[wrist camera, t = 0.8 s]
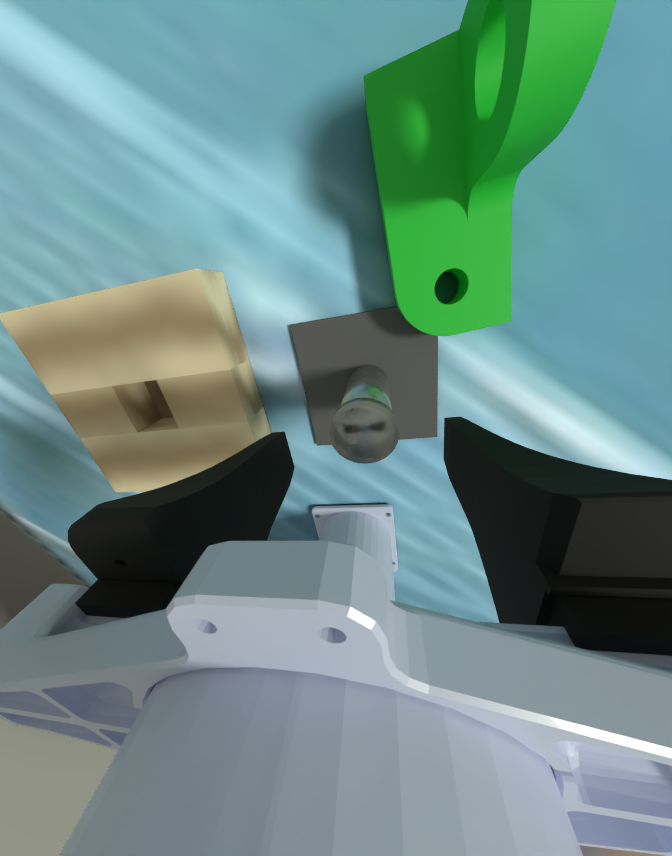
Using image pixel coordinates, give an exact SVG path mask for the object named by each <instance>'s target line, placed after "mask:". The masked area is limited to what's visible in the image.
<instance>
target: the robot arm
mask: <svg viewBox="0 0 672 856" xmlns="http://www.w3.org/2000/svg"><path fill="white" fill-rule="evenodd" d="M444 461H445V465H446V469H447V472H448V476H449V479H450V481H451V483H452V485H453V488H454V490H455V492H456V494H457V497H458V499H459V501H460V503H461V505H462V508H463V510H464V512H465V514H466V517H467V519H468V521H469V524H470V526H471V529H472V531H473V534H474V537H475V540H476V544H477V547H478V550H479V553H480V556H481V559H482V563H483V566H484V569H485V573H486V576H487V579H488V583H489V586H490V590H491V593H492V597H493V600H494V604H495V608H496V611H497V615H498V619H499V622H500V623H488V622H475V621H471V620H467V619H463V618H459V617H455V616H451V615H447V614H443V613H439V612H435V611H431V610H427V609H423V608H419V607H415V606H411V605H407V604H403V603H399V602H395V593H394V576H393V572H397V571H398V561H397V550H396V539H395V528H394V517H393V508H392V506H391V505H389V504H380V505H343V506H315V507H313V508H312V515H313V519H314V522H315V526H316V530H317V534H318V537H319V541H267V539H268V536H269V532H270V530H271V527H272V525H273V522H274V520H275V518H276V515H277V513H278V511H279V509H280V506H281V504H282V502H283V500H284V497H285V495H286V493H287V490H288V488H289V486H290V483H291V479H292V475H293V471H294V464H293V460H292V457H291V453H290V449H289V446H288V442H287V439H286V435H285V432H275V433H271V434H268V435H266V436H265V437H263V438H261V439H259V440H258V441H256V442H254V443H253V444H251V445H249V446H248V447H246V448H244V449H243V450H241V451H239V452H238V453H236V454H234V455H232V456H231V457H229V458H227V459H225V460H224V461H222V462H220V463H218V464H216V465H214V466H212V467H210V468H208V469H206V470H204V471H201V472H199V473H197V474H195V475H192V476H190V477H187V478H184V479H182V480H179V481H177V482H174V483H172V484H169V485H166V486H163V487H160V488H157V489H153V490H150V491H147V492H143V493H140V494H136V495H132V496H128V497H124V498H120V499H116V500H112V501H108V502H104V503H101V504H99V505H97V506H96V507H94V508H93V509H92V510H90V511H89V512H88V513H86V514H85V515H84V516H82V517H81V518H80V519H79V520H77V521H76V522H75V523H73V524H72V525H71V526H70V528H69V530H68V541H69V544H70V546H71V548H72V549H73V551H74V552H75V553H76V555H77V556H78V557H79V558H80V559H81V560H82V562H83V563H84V564H85V565H86V566H87V567H88V569H89V570H90V571H91V572H92V573H93V574H94V575H95V577H96V578H97V579H98V580H97V581H96V582H95V583H94V584H93V585H92V586H91V587H90V588H87V587H85V586H83V585H78V584H51V585H50V586H49V587H48V588H47V589H46V590H44V591H43V592H42V593H41V594H40V595H39V596H38V597H37V598H36V599H34V600H33V601H32V602H31V603H30V604H29V605H28V606H27V607H26V608H25V609H23V610H22V611H21V612H20V613H19V614H18V615H17V616H16V617H14V619H12V620H11V621H10V622H9V623H8V624H7V625H6V626H5V627H3V628H2V629H1V630H0V717H1V718H3V719H5V720H7V721H8V722H10V723H12V724H14V725H17V726H23V727H27V728H32V729H37V730H42V731H47V732H51V733H55V734H59V735H63V736H67V737H71V738H75V739H79V740H82V741H86V742H90V743H94V744H97V745H101V746H104V747H108V748H111V749H116V750H118V752H117V754H116V755H115V757H114V759H113V761H112V762H111V764H110V766H109V768H108V770H107V771H106V773H105V775H104V777H103V778H102V780H101V782H100V784H99V786H98V787H97V789H96V791H95V793H94V795H93V796H92V798H91V800H90V802H89V804H88V805H87V807H86V809H85V810H84V812H83V814H82V816H81V818H80V820H79V821H78V823H77V825H76V827H75V828H74V830H73V832H72V834H71V835H70V837H69V839H68V841H67V843H66V844H65V846H64V848H63V850H62V851H61V853H60V855H59V856H583V854H582V852H581V849H580V846H579V845H584V846H592V847H600V848H609V849H617V850H625V851H633V852H641V853H650V854H658V855H666V856H672V480H668V479H661V478H654V477H647V476H641V475H634V474H628V473H622V472H617V471H612V470H607V469H602V468H597V467H592V466H588V465H583V464H579V463H575V462H572V461H568V460H564V459H560V458H557V457H553V456H550V455H547V454H544V453H541V452H538V451H535V450H532V449H529V448H526V447H524V446H521V445H519V444H516V443H514V442H511V441H509V440H507V439H505V438H502V437H500V436H498V435H496V434H494V433H492V432H490V431H488V430H486V429H484V428H482V427H480V426H478V425H476V424H474V423H473V422H471V421H469V420H467V419H465V418H462V417H451V418H445V423H444ZM386 513H389V514H386ZM317 514H318V515H317Z"/></svg>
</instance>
